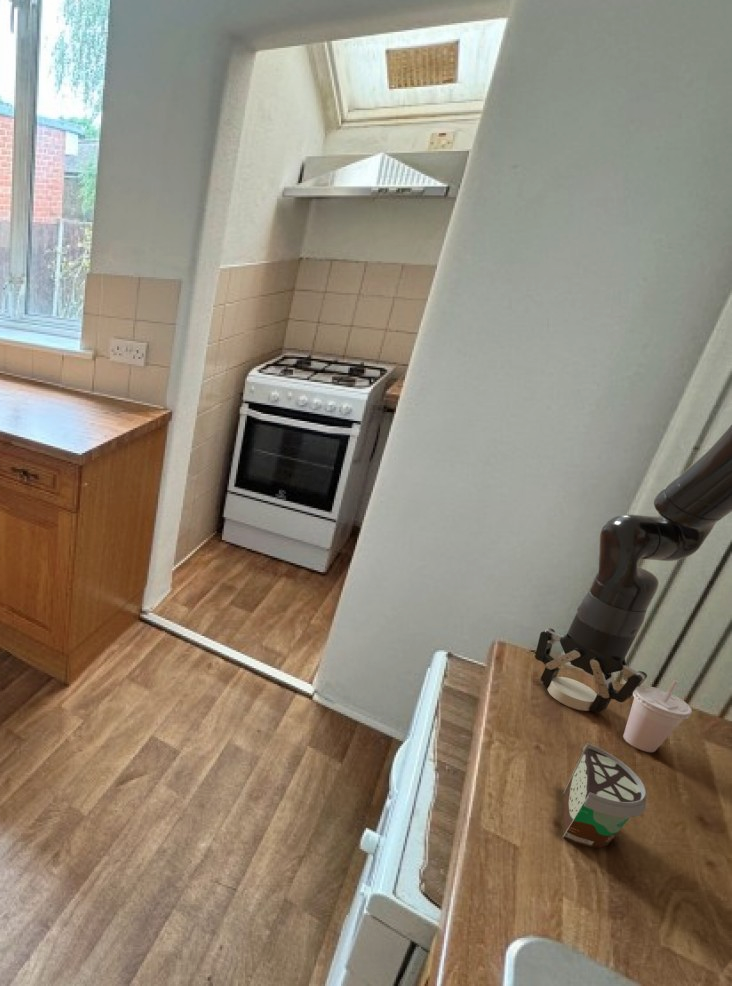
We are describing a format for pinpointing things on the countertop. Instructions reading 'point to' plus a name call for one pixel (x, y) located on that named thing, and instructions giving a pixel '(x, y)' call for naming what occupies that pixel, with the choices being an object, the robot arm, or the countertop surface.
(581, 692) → the cream round lid
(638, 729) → the smoothie
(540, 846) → the countertop surface
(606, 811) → the food container
